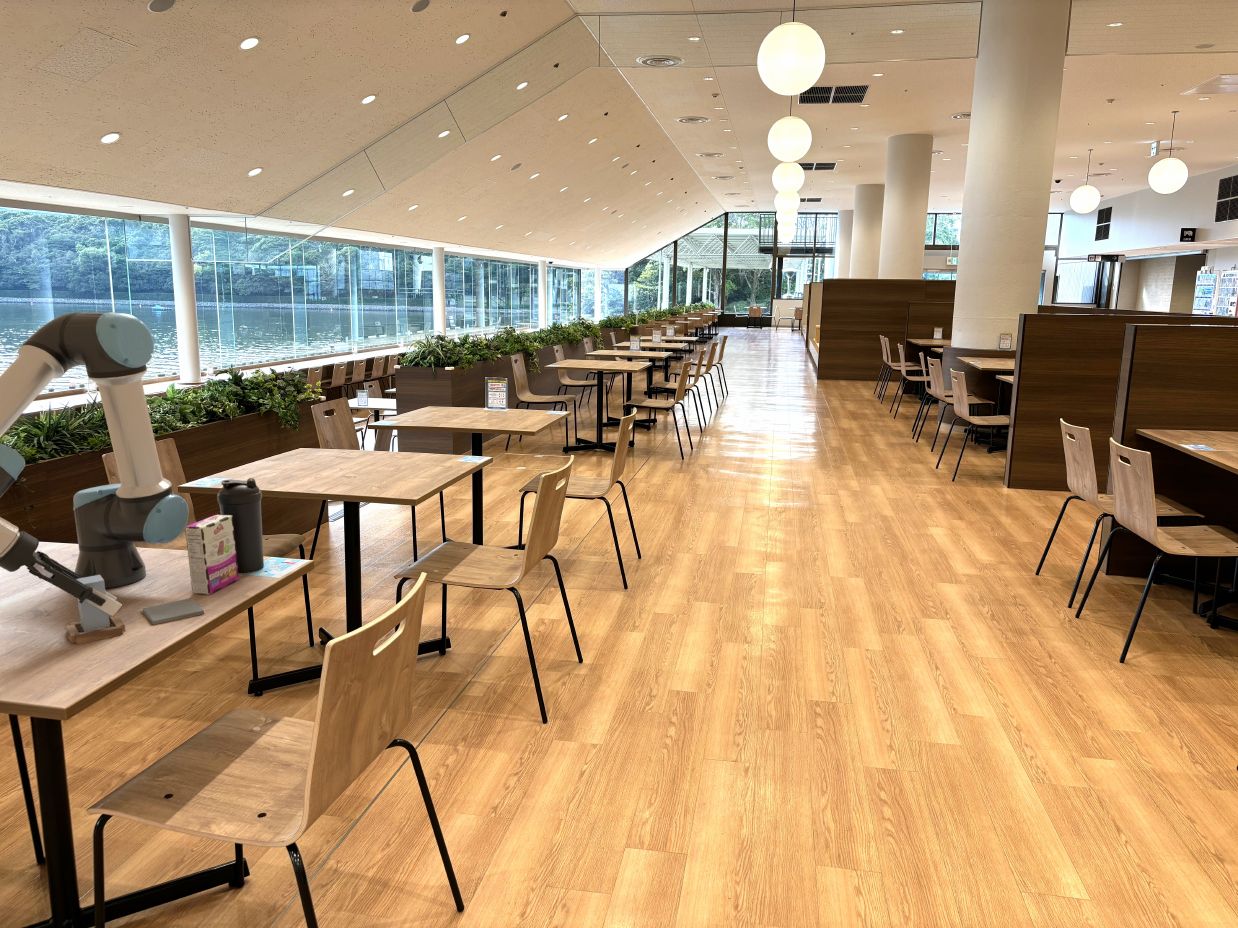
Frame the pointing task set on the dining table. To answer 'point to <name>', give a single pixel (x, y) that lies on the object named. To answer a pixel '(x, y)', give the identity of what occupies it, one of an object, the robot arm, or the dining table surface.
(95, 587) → the dusty blue painted block
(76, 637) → the walnut pocket frame
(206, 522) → the candy bar box
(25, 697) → the dining table surface
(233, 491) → the water bottle
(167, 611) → the grey rubber mat
